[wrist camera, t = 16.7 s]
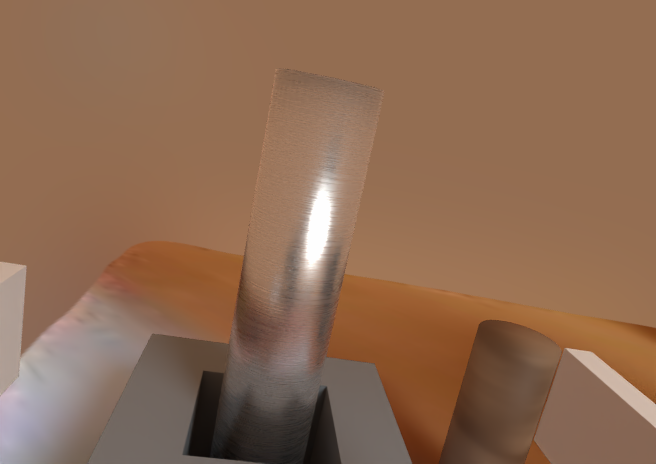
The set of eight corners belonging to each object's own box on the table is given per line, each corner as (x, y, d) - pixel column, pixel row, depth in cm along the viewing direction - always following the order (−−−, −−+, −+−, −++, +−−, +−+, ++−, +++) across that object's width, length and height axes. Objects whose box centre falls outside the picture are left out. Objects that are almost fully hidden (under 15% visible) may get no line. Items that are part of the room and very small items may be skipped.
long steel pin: (285, 502, 26) (373, 91, 21) (287, 574, 22) (395, 91, 17) (203, 495, 25) (275, 71, 21) (190, 567, 21) (276, 65, 17)
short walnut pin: (486, 481, 31) (536, 326, 28) (517, 538, 27) (578, 362, 24) (421, 475, 30) (467, 315, 28) (443, 531, 26) (498, 351, 24)
